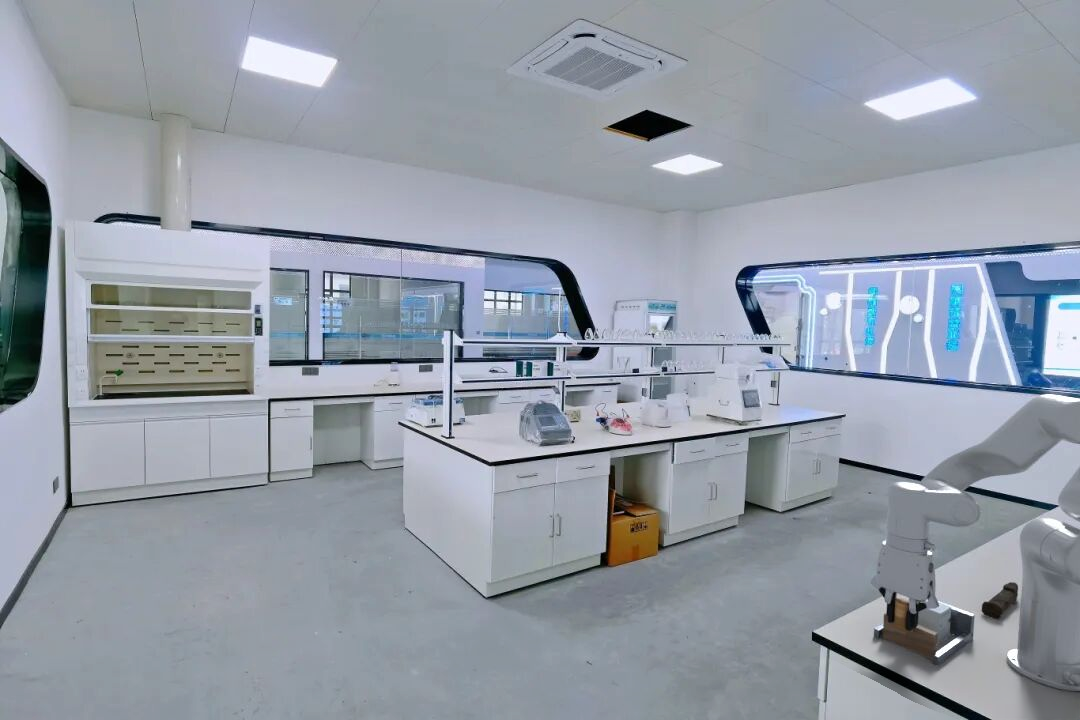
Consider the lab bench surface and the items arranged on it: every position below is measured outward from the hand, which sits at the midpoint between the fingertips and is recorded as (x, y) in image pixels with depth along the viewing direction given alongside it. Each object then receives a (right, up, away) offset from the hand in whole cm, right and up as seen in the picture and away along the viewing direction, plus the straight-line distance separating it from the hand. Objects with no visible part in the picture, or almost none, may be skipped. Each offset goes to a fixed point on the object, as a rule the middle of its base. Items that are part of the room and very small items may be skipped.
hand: (901, 623), depth 118 cm
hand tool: (+40, -6, +22) cm, 46 cm away
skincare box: (+12, -7, +8) cm, 16 cm away
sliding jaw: (+1, -6, +1) cm, 7 cm away
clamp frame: (+9, -6, +7) cm, 13 cm away
